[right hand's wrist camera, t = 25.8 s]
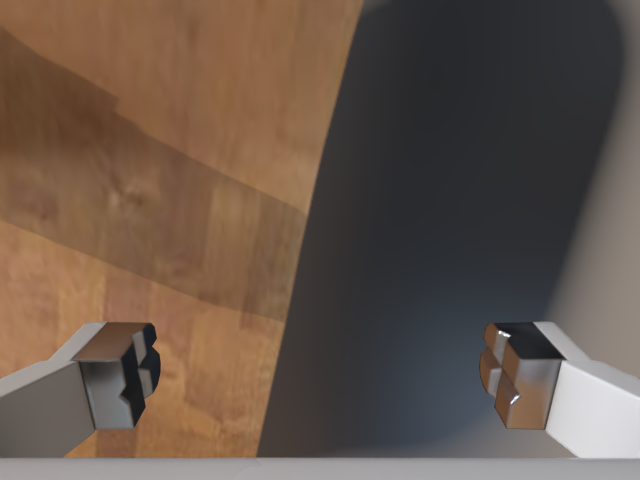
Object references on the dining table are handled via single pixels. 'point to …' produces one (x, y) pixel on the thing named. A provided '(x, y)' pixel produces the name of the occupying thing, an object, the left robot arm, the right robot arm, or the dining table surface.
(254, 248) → the dining table surface
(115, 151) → the dining table surface
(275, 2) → the dining table surface
